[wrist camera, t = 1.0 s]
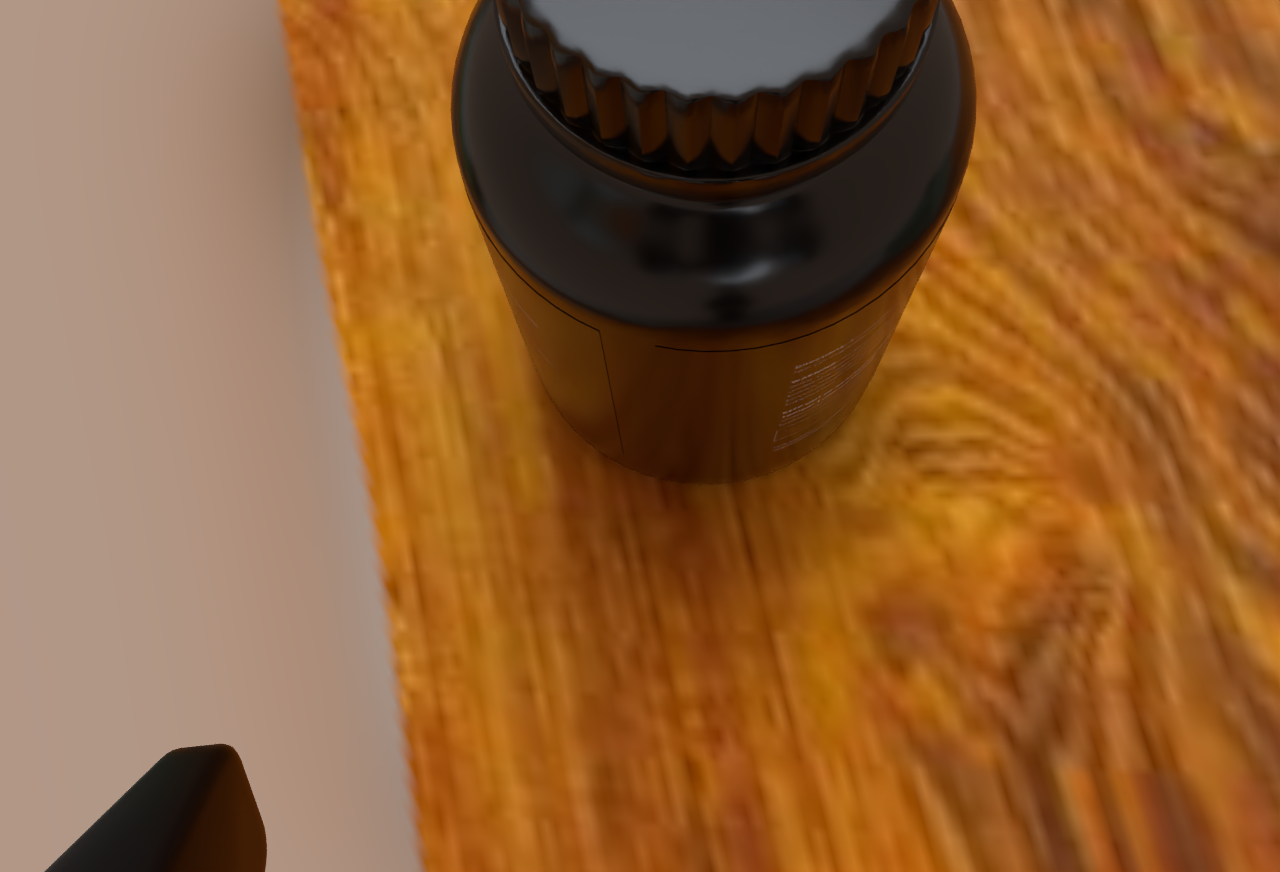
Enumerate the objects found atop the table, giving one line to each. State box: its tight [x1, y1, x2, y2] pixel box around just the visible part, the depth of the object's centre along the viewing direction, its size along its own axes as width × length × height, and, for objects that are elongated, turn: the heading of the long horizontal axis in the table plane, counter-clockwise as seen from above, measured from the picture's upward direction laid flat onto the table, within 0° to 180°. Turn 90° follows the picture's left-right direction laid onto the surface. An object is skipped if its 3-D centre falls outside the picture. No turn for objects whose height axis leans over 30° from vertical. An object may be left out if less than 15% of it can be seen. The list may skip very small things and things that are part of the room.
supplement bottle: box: [451, 0, 976, 484], centre depth 17 cm, size 7×7×12 cm
